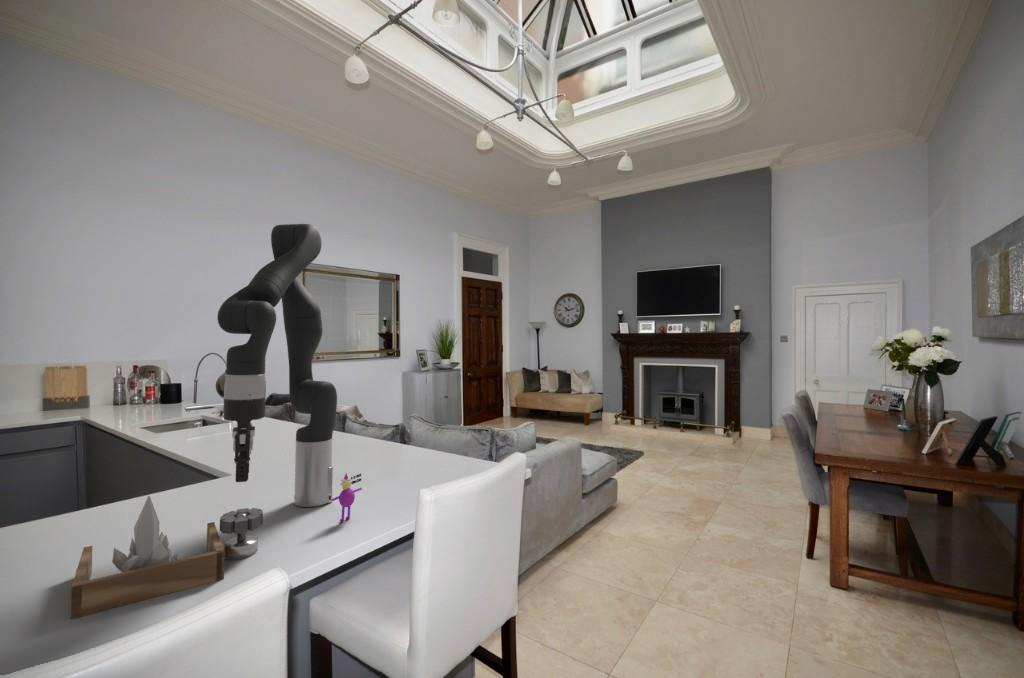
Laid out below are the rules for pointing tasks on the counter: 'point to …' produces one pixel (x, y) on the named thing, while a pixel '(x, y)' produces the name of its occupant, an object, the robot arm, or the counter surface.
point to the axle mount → (241, 545)
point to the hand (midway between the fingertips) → (242, 477)
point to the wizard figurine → (346, 495)
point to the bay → (144, 579)
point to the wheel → (241, 521)
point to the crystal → (145, 543)
